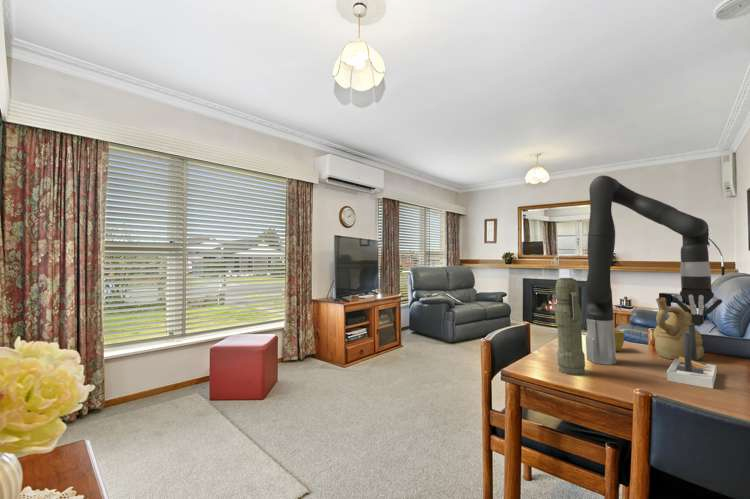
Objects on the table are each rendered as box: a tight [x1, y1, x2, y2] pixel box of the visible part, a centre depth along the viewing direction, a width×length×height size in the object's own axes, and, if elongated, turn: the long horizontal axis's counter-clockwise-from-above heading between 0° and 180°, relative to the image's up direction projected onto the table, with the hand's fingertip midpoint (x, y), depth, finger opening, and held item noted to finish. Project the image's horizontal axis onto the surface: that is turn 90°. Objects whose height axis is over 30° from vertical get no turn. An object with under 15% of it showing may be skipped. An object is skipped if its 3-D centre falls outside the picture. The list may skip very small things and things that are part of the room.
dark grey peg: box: [683, 332, 692, 372], centre depth 111 cm, size 2×2×13 cm
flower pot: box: [614, 328, 625, 352], centre depth 154 cm, size 9×9×9 cm
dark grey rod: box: [689, 324, 698, 361], centre depth 123 cm, size 2×2×13 cm
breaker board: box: [666, 359, 718, 390], centre depth 117 cm, size 19×11×4 cm, turn 132°
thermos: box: [554, 277, 586, 376], centre depth 127 cm, size 9×12×35 cm
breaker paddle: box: [678, 357, 706, 370], centre depth 117 cm, size 2×7×2 cm, turn 42°
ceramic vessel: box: [652, 297, 705, 361], centre depth 140 cm, size 17×20×25 cm
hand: (698, 325), depth 116 cm, fingers closed
